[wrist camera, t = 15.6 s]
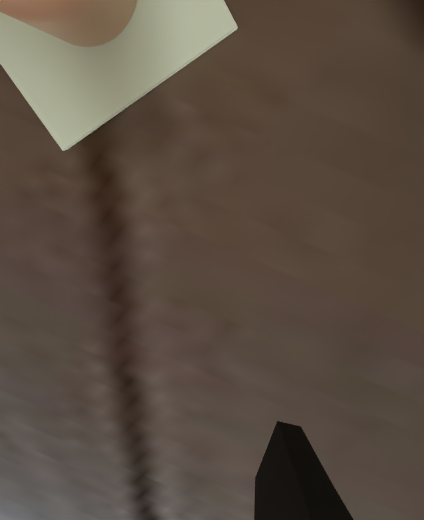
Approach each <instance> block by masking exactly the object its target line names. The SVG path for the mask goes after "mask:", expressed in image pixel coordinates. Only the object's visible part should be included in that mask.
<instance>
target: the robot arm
mask: <svg viewBox="0 0 424 520" xmlns="http://www.w3.org/2000/svg"><path fill="white" fill-rule="evenodd" d="M254 520H353V518H352V516H351V515H350V513H349V511H348V510H347V508H346V506H345V505H344V503H343V501H342V500H341V498H340V496H339V495H338V493H337V491H336V489H335V488H334V486H333V484H332V482H331V481H330V479H329V477H328V475H327V473H326V472H325V470H324V468H323V466H322V464H321V463H320V461H319V459H318V457H317V455H316V453H315V452H314V450H313V448H312V446H311V444H310V442H309V441H308V439H307V437H306V435H305V433H304V432H303V430H302V428H301V427H300V426H296V425H292V424H287V423H283V422H279V421H277V424H276V426H275V429H274V431H273V434H272V436H271V439H270V442H269V444H268V447H267V449H266V452H265V454H264V457H263V460H262V462H261V465H260V467H259V470H258V472H257V475H256V477H255V514H254Z"/></svg>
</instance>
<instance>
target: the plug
mask: <svg viewBox="0 0 424 520" xmlns="http://www.w3.org/2000/svg"><path fill="white" fill-rule="evenodd" d="M136 4H137V0H0V12H2V13H4V14H6V15H8V16H10V17H13V18H15V19H17V20H19V21H21V22H24V23H26V24H28V25H30V26H32V27H35V28H37V29H39V30H41V31H43V32H46V33H48V34H50V35H52V36H54V37H57V38H59V39H61V40H63V41H65V42H68V43H70V44H73V45H76V46H82V47H93V46H99V45H102V44H105V43H107V42H109V41H111V40H112V39H114V38H115V37H117V36H118V35H119V34H120V33H121V32H122V31H123V30H124V29H125V27H126V26H127V25H128V23H129V21H130V20H131V18H132V15H133V13H134V11H135V7H136Z"/></svg>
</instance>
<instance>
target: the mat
mask: <svg viewBox="0 0 424 520" xmlns="http://www.w3.org/2000/svg"><path fill="white" fill-rule="evenodd" d="M235 30H237V25H236V23H235V21H234V19H233V17H232V15H231V13H230V11H229V9H228V7H227V6H226V4H225V2H224V0H137V4H136V7H135V11H134V13H133V15H132V18H131V20H130V21H129V23H128V25H127V26H126V27H125V29H124V30H123V31H122V32H121V33H120V34H119V35H118V36H117V37H115V38H114V39H112V40H111V41H109V42H107V43H105V44H102V45H99V46H93V47H82V46H76V45H73V44H70V43H68V42H65V41H63V40H61V39H59V38H57V37H54V36H52V35H50V34H48V33H46V32H43V31H41V30H39V29H37V28H35V27H32V26H30V25H28V24H26V23H24V22H21V21H19V20H17V19H15V18H13V17H10V16H8V15H6V14H4V13H2V12H0V64H1V65H2V67H3V68H4V70H5V71H6V72H7V74H8V75H9V77H10V78H11V79H12V81H13V82H14V83H15V85H16V86H17V88H18V89H19V90H20V92H21V93H22V95H23V96H24V97H25V99H26V100H27V102H28V103H29V104H30V106H31V107H32V109H33V110H34V111H35V113H36V114H37V116H38V117H39V118H40V120H41V121H42V123H43V124H44V125H45V127H46V128H47V129H48V131H49V132H50V134H51V135H52V136H53V138H54V139H55V141H56V142H57V143H58V145H59V146H60V148H61V149H62V150H63V151H64V150H67V149H69V148H70V147H72V146H73V145H74V144H76V143H77V142H79V141H80V140H81V139H83V138H84V137H86V136H87V135H89V134H90V133H91V132H93V131H94V130H96V129H97V128H98V127H100V126H101V125H103V124H104V123H105V122H107V121H108V120H110V119H111V118H113V117H114V116H115V115H117V114H118V113H120V112H121V111H122V110H124V109H125V108H127V107H128V106H129V105H131V104H132V103H134V102H135V101H137V100H138V99H139V98H141V97H142V96H144V95H145V94H146V93H148V92H149V91H151V90H152V89H154V88H155V87H156V86H158V85H159V84H161V83H162V82H163V81H165V80H166V79H168V78H169V77H170V76H172V75H173V74H175V73H176V72H178V71H179V70H180V69H182V68H183V67H185V66H186V65H187V64H189V63H190V62H192V61H193V60H194V59H196V58H197V57H199V56H200V55H202V54H203V53H204V52H206V51H207V50H209V49H210V48H211V47H213V46H214V45H216V44H217V43H218V42H220V41H221V40H223V39H224V38H226V37H227V36H228V35H230V34H231V33H233V32H234V31H235Z"/></svg>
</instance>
